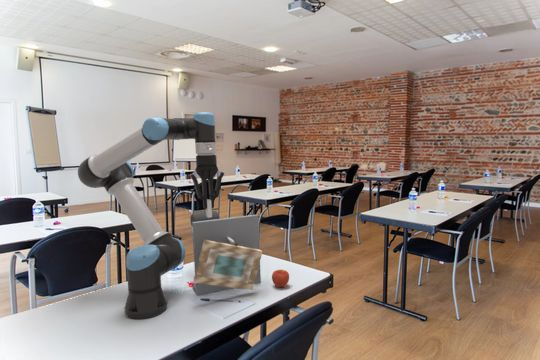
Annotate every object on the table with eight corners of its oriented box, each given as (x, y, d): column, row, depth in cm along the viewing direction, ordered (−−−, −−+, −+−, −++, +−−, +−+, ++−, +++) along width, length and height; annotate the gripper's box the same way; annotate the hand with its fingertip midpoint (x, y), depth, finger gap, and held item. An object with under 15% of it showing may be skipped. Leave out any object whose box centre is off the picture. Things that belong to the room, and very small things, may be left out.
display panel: (201, 302, 142) (197, 226, 139) (192, 288, 156) (189, 219, 153) (267, 288, 153) (264, 218, 150) (253, 276, 167) (251, 212, 164)
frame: (195, 283, 137) (207, 237, 137) (193, 280, 140) (205, 235, 140) (252, 290, 147) (264, 248, 147) (249, 287, 150) (260, 245, 150)
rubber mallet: (197, 279, 167) (194, 214, 163) (192, 274, 173) (189, 211, 170) (222, 273, 173) (220, 211, 169) (217, 268, 179) (214, 208, 176)
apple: (285, 282, 160) (285, 264, 159) (292, 288, 153) (291, 270, 152) (270, 284, 158) (269, 266, 157) (275, 291, 151) (274, 272, 150)
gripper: (190, 155, 130) (194, 220, 133) (225, 153, 135) (228, 216, 138) (186, 155, 137) (189, 216, 139) (220, 153, 142) (222, 213, 145)
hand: (209, 216), depth 139 cm, fingers closed
